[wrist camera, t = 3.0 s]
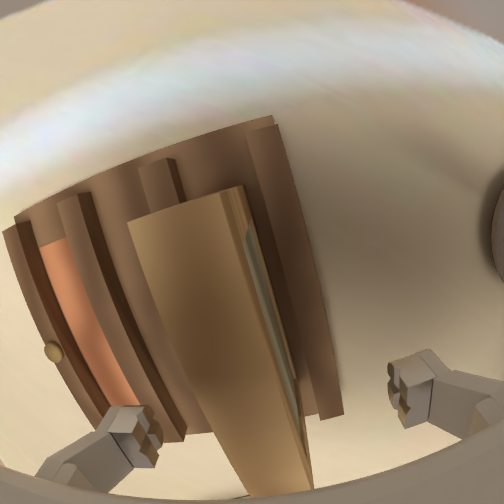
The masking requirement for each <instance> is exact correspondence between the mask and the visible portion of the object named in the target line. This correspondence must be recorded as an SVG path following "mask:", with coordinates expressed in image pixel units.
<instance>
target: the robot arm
mask: <svg viewBox="0 0 504 504" xmlns="http://www.w3.org/2000/svg"><path fill="white" fill-rule="evenodd" d="M387 368H388V374H389V376H390V378H391V379H390V380H389V382H388V394H389V399H390V402H391V404H392V406H393V408H394V409H397V410H398V417H399V419H400V421H401V423H402V425H403V427H404V428H405V429H407V428H410V427H412V426H415V425H418V424H421V423H424V422H427V421H428V422H429V423H431V424H433V425H435V426H437V427H439V428H441V429H443V430H445V431H447V432H449V433H451V434H452V435H454V436H456V437H458V438H460V439H462V440H461V441H459V442H457V443H455V444H453V445H451V446H449V447H446V448H444V449H442V450H440V451H437V452H435V453H433V454H430V455H428V456H425V457H423V458H420V459H418V460H415V461H412V462H410V463H407V464H404V465H401V466H399V467H396V468H393V469H390V470H387V471H384V472H380V473H377V474H374V475H370V476H367V477H363V478H360V479H356V480H352V481H348V482H344V483H340V484H336V485H331V486H327V487H322V488H317V489H312V490H307V491H301V492H295V493H288V494H281V495H274V496H265V497H255V498H243V499H227V500H169V499H153V498H141V497H132V496H123V495H116V494H109V493H108V492H109V491H110V490H112V489H113V488H114V487H115V486H116V485H117V484H118V483H119V482H120V481H121V480H122V479H123V478H125V477H126V476H127V475H128V474H129V473H130V472H131V471H132V470H133V469H134V468H155V465H156V462H157V459H158V457H159V454H158V453H157V450H158V449H160V448H161V447H162V445H163V442H164V433H163V429H162V427H161V425H160V423H159V422H158V421H156V420H155V419H154V414H155V413H154V411H153V410H152V408H151V407H150V406H148V405H124V406H123V405H114V406H111V407H110V408H109V410H108V411H107V413H106V414H105V416H104V418H103V419H102V421H101V423H100V424H99V426H98V427H97V429H96V431H95V432H90V433H89V434H87V435H85V436H84V437H82V438H80V439H79V440H77V441H75V442H74V443H72V444H70V445H69V446H67V447H65V448H64V449H62V450H60V451H58V452H57V453H55V454H53V455H51V456H50V457H48V458H47V459H46V460H45V462H44V463H43V465H42V466H41V468H40V469H39V470H38V472H37V473H36V475H35V476H31V475H27V474H24V473H21V472H18V471H15V470H12V469H10V468H7V467H4V466H1V465H0V504H504V382H503V381H498V380H494V379H489V378H485V377H481V376H477V375H473V374H469V373H465V372H461V371H457V370H454V371H450V369H449V368H448V367H447V366H446V365H445V364H444V363H443V362H442V361H441V360H440V359H439V358H438V357H437V356H436V354H435V353H434V352H433V351H432V350H431V349H425V350H422V351H420V352H417V353H415V354H413V355H410V356H407V357H404V358H401V359H398V360H395V361H392V362H389V363H388V367H387Z"/></svg>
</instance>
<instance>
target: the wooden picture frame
mask: <svg viewBox="0 0 504 504" xmlns="http://www.w3.org/2000/svg"><path fill="white" fill-rule="evenodd" d="M127 224H128V228H129V231H130V234H131V237H132V240H133V243H134V246H135V249H136V252H137V255H138V258H139V261H140V264H141V266H142V269H143V272H144V275H145V278H146V280H147V283H148V286H149V289H150V291H151V294H152V297H153V299H154V302H155V304H156V307H157V310H158V312H159V315H160V317H161V320H162V322H163V325H164V327H165V329H166V332H167V334H168V337H169V339H170V341H171V344H172V346H173V348H174V351H175V353H176V355H177V358H178V360H179V362H180V364H181V366H182V369H183V371H184V373H185V375H186V377H187V380H188V382H189V384H190V386H191V388H192V390H193V392H194V394H195V396H196V399H197V401H198V403H199V405H200V407H201V409H202V411H203V413H204V415H205V417H206V419H207V421H208V422H209V424H210V426H211V428H212V430H213V432H214V434H215V436H216V438H217V440H218V441H219V443H220V445H221V447H222V449H223V451H224V452H225V454H226V456H227V458H228V460H229V461H230V463H231V465H232V467H233V468H234V470H235V472H236V473H237V475H238V477H239V479H240V480H241V482H242V484H243V485H244V487H245V489H246V490H247V492H248V493H249V495H250V497H251V498H255V497H265V496H274V495H281V494H288V493H295V492H301V491H307V490H312V489H314V483H313V475H312V468H311V460H310V453H309V446H308V439H307V432H306V425H305V418H304V411H303V404H302V398H301V391H300V385H299V380H298V376H297V373H296V369H295V365H294V362H293V358H292V354H291V350H290V347H289V343H288V339H287V336H286V332H285V328H284V325H283V321H282V317H281V314H280V310H279V306H278V303H277V299H276V296H275V292H274V288H273V285H272V281H271V277H270V274H269V270H268V267H267V263H266V259H265V256H264V252H263V249H262V245H261V242H260V238H259V234H258V231H257V227H256V224H255V220H254V217H253V213H252V210H251V206H250V203H249V199H248V196H247V192H246V188H245V185H244V184H243V185H240V186H236V187H233V188H229V189H226V190H222V191H219V192H216V193H212V194H209V195H206V196H202V197H199V198H196V199H193V200H190V201H187V202H184V203H181V204H178V205H175V206H172V207H169V208H166V209H163V210H160V211H157V212H155V213H152V214H149V215H146V216H143V217H140V218H138V219H135V220H132V221H129V222H127Z"/></svg>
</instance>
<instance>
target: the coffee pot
mask: <svg viewBox="0 0 504 504" xmlns="http://www.w3.org/2000/svg"><path fill="white" fill-rule="evenodd" d="M491 241H492V255H493V258H494V262H495V266H496V269H497V271H498V273H499V275H500V277H501V278H502V280H503V282H504V188H503V190H502V192H501V194H500V197H499V199H498V202H497V204H496V207H495V211H494V215H493V220H492V231H491Z"/></svg>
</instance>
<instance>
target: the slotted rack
mask: <svg viewBox="0 0 504 504" xmlns="http://www.w3.org/2000/svg"><path fill="white" fill-rule="evenodd" d="M243 184H244V185H245V188H246V192H247V196H248V199H249V203H250V206H251V210H252V213H253V217H254V220H255V224H256V227H257V231H258V234H259V238H260V242H261V245H262V249H263V252H264V256H265V259H266V263H267V267H268V270H269V274H270V277H271V281H272V285H273V288H274V292H275V296H276V299H277V303H278V306H279V310H280V314H281V317H282V321H283V325H284V328H285V332H286V336H287V339H288V343H289V347H290V350H291V354H292V358H293V362H294V365H295V369H296V373H297V376H298V380H299V385H300V391H301V398H302V404H303V411H304V417H305V416H310V415H314V414H318V413H319V417H320V421H321V420H325V419H329V418H333V417H337V416H340V415H344V410H343V403H342V397H341V392H340V386H339V380H338V375H337V369H336V364H335V358H334V353H333V348H332V343H331V338H330V333H329V328H328V323H327V318H326V313H325V308H324V304H323V299H322V295H321V290H320V285H319V281H318V277H317V272H316V268H315V264H314V259H313V255H312V251H311V247H310V243H309V238H308V234H307V230H306V226H305V222H304V218H303V214H302V211H301V207H300V203H299V199H298V195H297V191H296V188H295V184H294V180H293V177H292V173H291V169H290V166H289V162H288V159H287V155H286V152H285V148H284V145H283V141H282V138H281V134H280V131H279V128H278V124H276V125H275V124H274V120H273V117H272V115H270V116H266V117H262V118H259V119H255V120H251V121H247V122H244V123H240V124H237V125H233V126H230V127H226V128H223V129H220V130H217V131H213V132H210V133H207V134H204V135H201V136H198V137H195V138H192V139H189V140H186V141H183V142H180V143H177V144H174V145H171V146H168V147H166V148H163V149H160V150H157V151H155V152H152V153H149V154H147V155H144V156H142V157H139V158H137V159H134V160H131V161H129V162H127V163H124V164H122V165H119V166H117V167H114V168H112V169H110V170H107V171H105V172H103V173H100V174H98V175H96V176H94V177H91V178H89V179H87V180H85V181H83V182H81V183H78V184H76V185H74V186H72V187H70V188H68V189H66V190H64V191H62V192H60V193H58V194H56V195H54V196H52V197H50V198H48V199H46V200H44V201H42V202H40V203H38V204H36V205H34V206H32V207H31V208H29V209H27V210H25V211H23V212H21V213H20V214H18V215H16V216H14V219H15V223H16V224H15V225H13V226H11V227H10V228H8V229H6V230H4V231H2V232H3V236H4V240H5V243H6V246H7V250H8V253H9V256H10V259H11V262H12V265H13V268H14V271H15V274H16V277H17V280H18V282H19V285H20V288H21V290H22V293H23V295H24V298H25V301H26V303H27V305H28V308H29V310H30V313H31V315H32V317H33V320H34V322H35V324H36V326H37V329H38V331H39V333H40V335H41V337H42V339H43V341H44V343H45V345H46V346H45V348H44V351H45V354H46V356H47V357H48V359H49V360H51V361H52V362H54V363H55V365H56V367H57V369H58V370H59V372H60V374H61V376H62V378H63V379H64V381H65V383H66V385H67V386H68V388H69V390H70V391H71V393H72V395H73V396H74V398H75V400H76V401H77V403H78V405H79V406H80V408H81V409H82V411H83V412H84V414H85V415H86V417H87V418H88V420H89V421H90V423H91V424H92V426H93V427H94V429H95V430H96V429H97V427H98V426H99V424H100V423H101V421H102V419H103V418H104V416H105V414H106V413H107V411H108V410H109V408H110V407H111V406H114V405H123V406H124V405H148V406H150V407H151V408H152V410H153V411H154V413H155V414H154V419H155V420H156V421H158V422H159V423H160V425H161V427H162V429H163V433H164V443H171V442H184V438H185V435H188V434H200V433H210V432H213V430H212V428H211V426H210V424H209V422H208V421H207V419H206V417H205V415H204V413H203V411H202V409H201V407H200V405H199V403H198V401H197V399H196V396H195V394H194V392H193V390H192V388H191V386H190V384H189V382H188V380H187V377H186V375H185V373H184V371H183V369H182V366H181V364H180V362H179V360H178V358H177V355H176V353H175V351H174V348H173V346H172V344H171V341H170V339H169V337H168V334H167V332H166V329H165V327H164V325H163V322H162V320H161V317H160V315H159V312H158V310H157V307H156V304H155V302H154V299H153V297H152V294H151V291H150V289H149V286H148V283H147V280H146V278H145V275H144V272H143V269H142V266H141V264H140V261H139V258H138V255H137V252H136V249H135V246H134V243H133V240H132V237H131V234H130V231H129V228H128V224H127V222H129V221H132V220H135V219H138V218H140V217H143V216H146V215H149V214H152V213H155V212H157V211H160V210H163V209H166V208H169V207H172V206H175V205H178V204H181V203H184V202H187V201H190V200H193V199H196V198H199V197H202V196H206V195H209V194H212V193H216V192H219V191H222V190H226V189H229V188H233V187H236V186H240V185H243Z"/></svg>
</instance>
